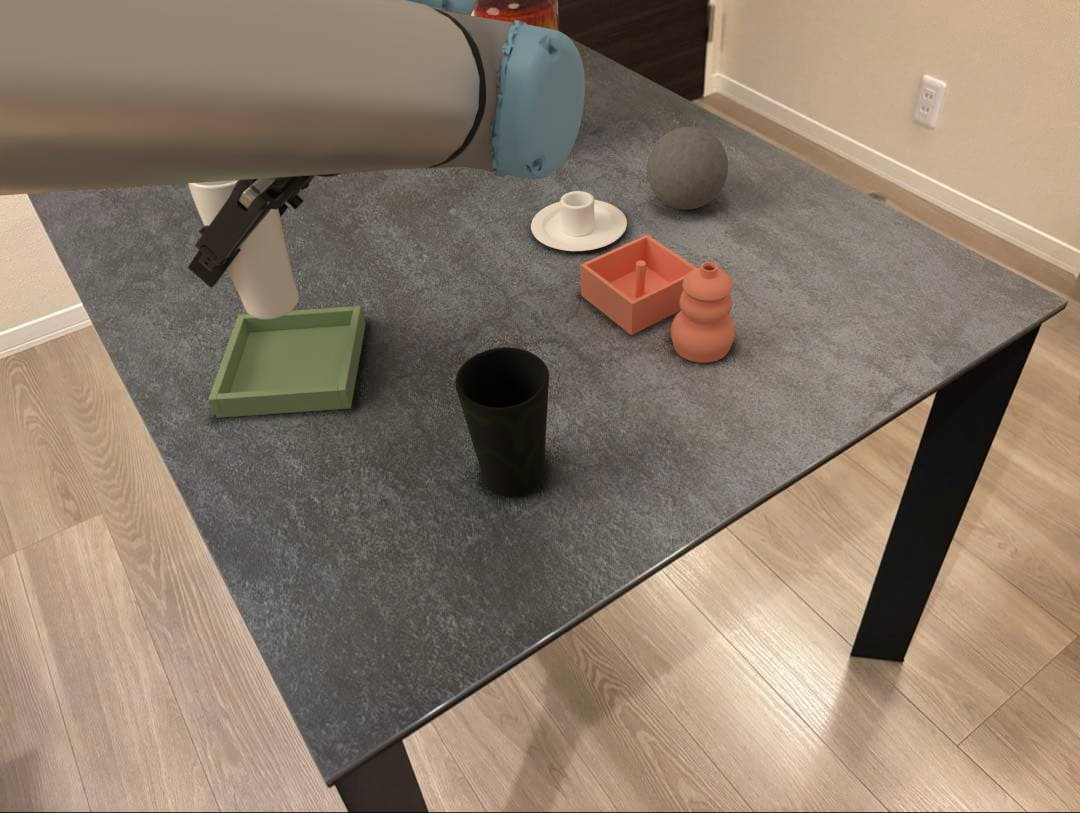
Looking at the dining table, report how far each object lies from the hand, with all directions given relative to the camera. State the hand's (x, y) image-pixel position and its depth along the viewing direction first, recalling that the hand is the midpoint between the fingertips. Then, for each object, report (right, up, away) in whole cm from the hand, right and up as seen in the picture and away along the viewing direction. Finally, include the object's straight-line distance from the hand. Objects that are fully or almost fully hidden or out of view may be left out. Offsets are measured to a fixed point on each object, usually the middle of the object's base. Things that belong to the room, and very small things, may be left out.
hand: (226, 253), depth 79 cm
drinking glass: (+4, -5, +3) cm, 7 cm away
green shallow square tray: (+4, -11, +9) cm, 14 cm away
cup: (+28, -21, -4) cm, 35 cm away
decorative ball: (+49, +11, +28) cm, 57 cm away
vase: (+28, +23, +41) cm, 55 cm away
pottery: (+44, -5, +11) cm, 45 cm away
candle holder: (+35, +8, +25) cm, 44 cm away
